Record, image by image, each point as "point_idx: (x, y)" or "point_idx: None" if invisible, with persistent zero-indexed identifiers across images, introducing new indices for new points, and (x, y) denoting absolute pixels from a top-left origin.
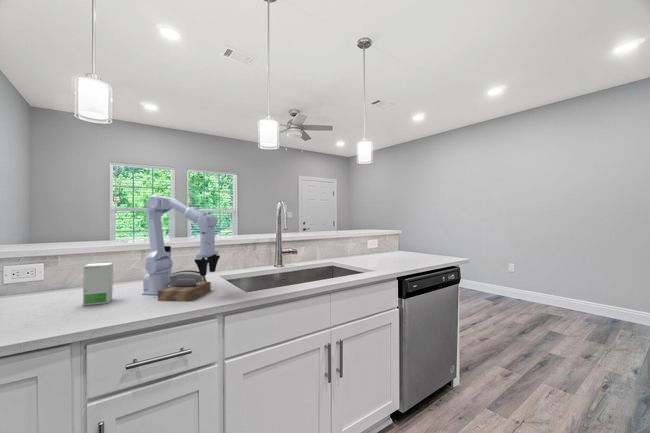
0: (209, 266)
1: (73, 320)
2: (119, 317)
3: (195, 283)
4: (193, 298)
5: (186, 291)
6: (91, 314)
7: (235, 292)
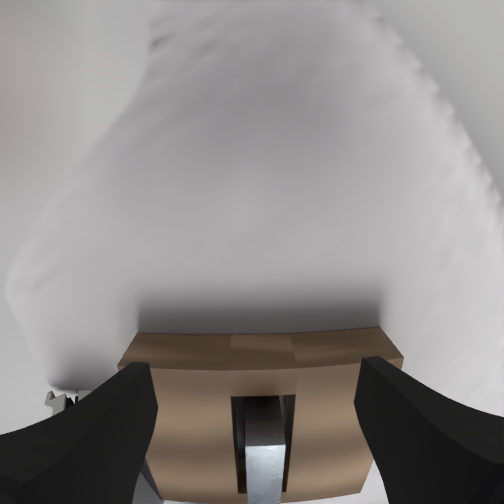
0: (141, 460)
1: None
2: None
3: (252, 421)
4: (348, 332)
5: None
6: None
7: (161, 118)
